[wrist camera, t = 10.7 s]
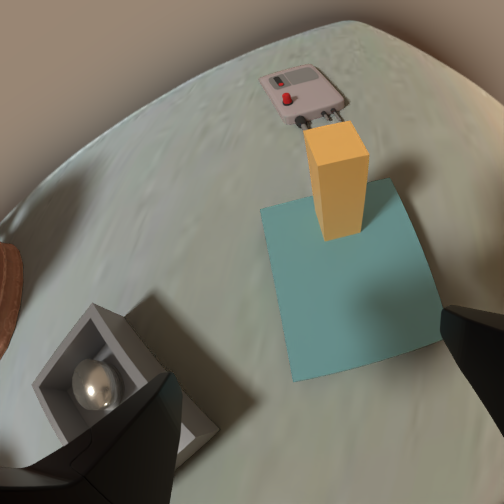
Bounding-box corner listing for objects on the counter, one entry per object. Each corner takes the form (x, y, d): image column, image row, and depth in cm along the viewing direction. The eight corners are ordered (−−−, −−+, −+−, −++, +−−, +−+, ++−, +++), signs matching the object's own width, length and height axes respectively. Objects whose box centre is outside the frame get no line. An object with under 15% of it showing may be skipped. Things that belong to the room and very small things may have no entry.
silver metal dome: (133, 390, 20) (116, 388, 18) (105, 419, 19) (88, 419, 17) (107, 352, 21) (90, 348, 20) (82, 382, 21) (65, 379, 19)
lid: (440, 341, 16) (513, 301, 8) (296, 382, 18) (267, 380, 10) (386, 193, 22) (401, 97, 14) (265, 223, 23) (228, 134, 15)
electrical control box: (303, 63, 33) (300, 45, 30) (364, 135, 26) (365, 111, 23) (255, 77, 34) (249, 59, 31) (300, 154, 26) (295, 131, 24)
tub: (220, 429, 18) (195, 437, 14) (139, 498, 16) (108, 510, 12) (123, 316, 23) (92, 302, 20) (63, 389, 21) (31, 384, 18)
